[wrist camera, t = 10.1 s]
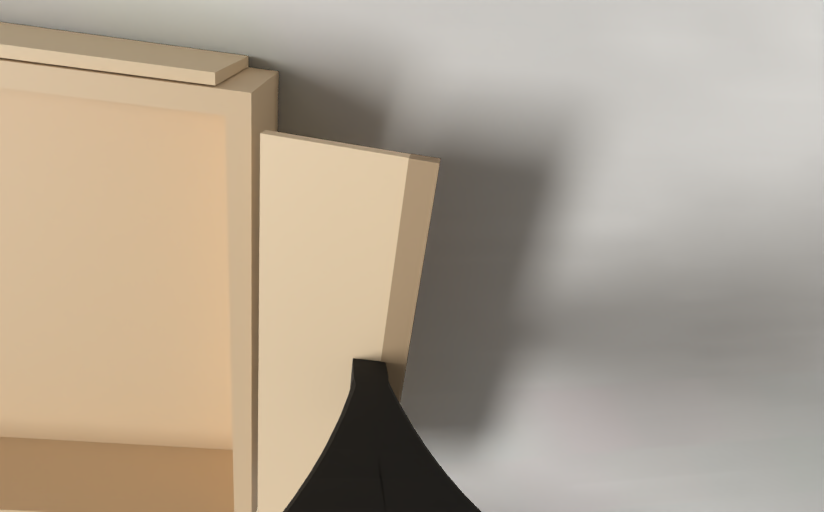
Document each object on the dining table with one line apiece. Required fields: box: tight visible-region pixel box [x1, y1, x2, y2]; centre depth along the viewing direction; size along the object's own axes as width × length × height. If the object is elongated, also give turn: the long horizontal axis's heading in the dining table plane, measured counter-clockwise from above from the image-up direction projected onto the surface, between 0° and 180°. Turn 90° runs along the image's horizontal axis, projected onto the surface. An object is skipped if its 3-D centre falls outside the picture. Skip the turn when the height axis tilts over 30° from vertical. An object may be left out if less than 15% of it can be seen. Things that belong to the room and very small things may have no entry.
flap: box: [257, 130, 441, 512], centre depth 13 cm, size 12×1×4 cm
